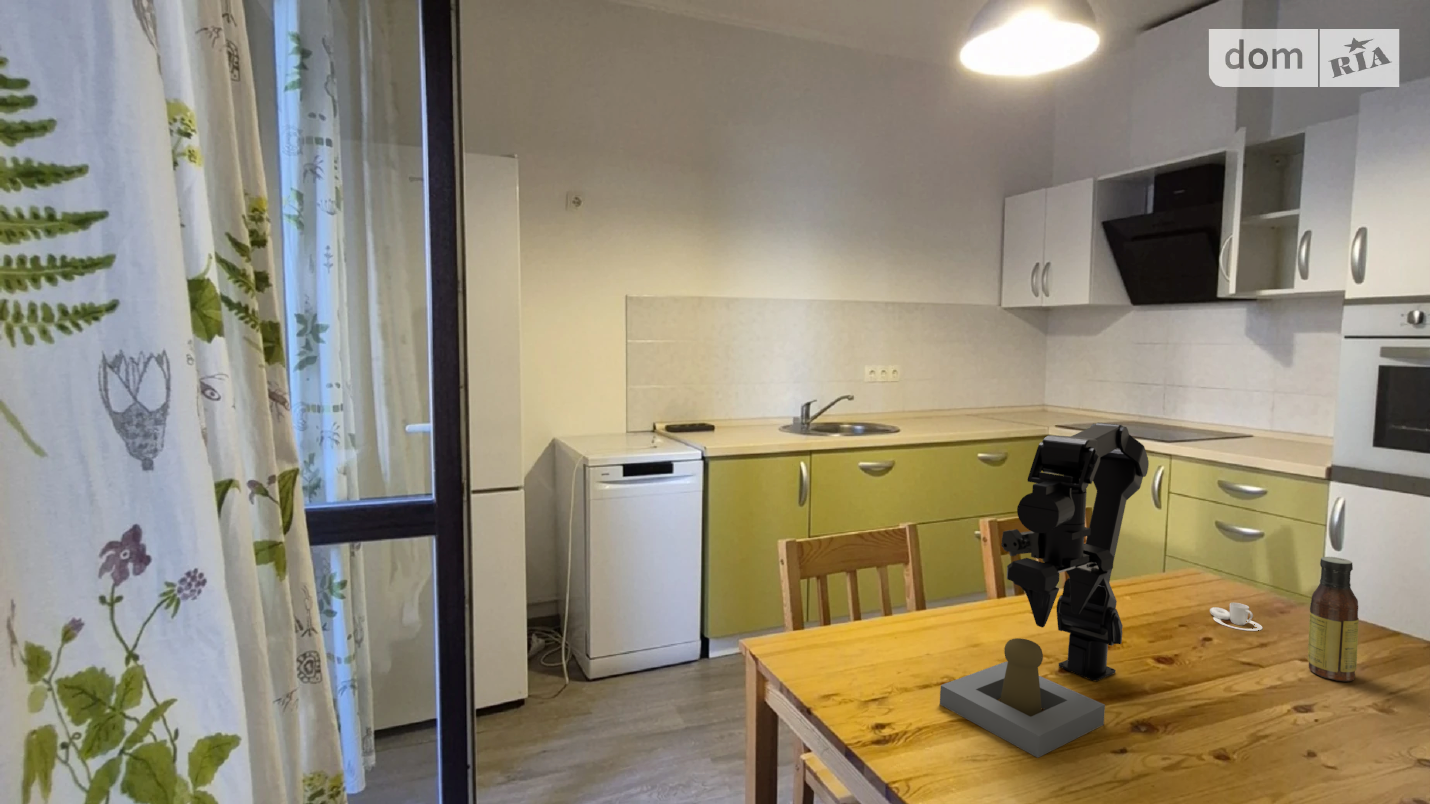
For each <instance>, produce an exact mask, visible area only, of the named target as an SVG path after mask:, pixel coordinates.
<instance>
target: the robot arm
mask: <svg viewBox="0 0 1430 804" xmlns="http://www.w3.org/2000/svg"><path fill="white" fill-rule="evenodd" d="M1149 462H1150V461H1149V457H1148V453H1147V451H1146V448H1145V445H1144V444H1143V443H1141V442H1140V441H1139V440H1137V439H1136V438H1135V437H1133V436H1132V435H1131V434H1130V432H1129V429H1128V428H1127V426H1123V425H1122V424H1117V423H1116V424H1115V423H1105V422H1104V423H1103V422H1096V423H1092V424H1091V426H1090V427H1088V428H1086V429H1084V430H1082V431H1080V432H1076V433H1075V434H1073V435H1071V436H1070V435H1069V436H1068V435H1051V434H1050V435H1047V436H1045V437H1044V438H1043V439H1042V441H1041V442H1039V444H1038V446H1037V448H1036V451H1035V455H1034V458H1033V461H1032V464H1031V467H1030V470H1029V473H1028V476H1027V482H1028V483H1033V484H1032V488H1031V489H1032V492H1031V493H1027V494H1025V495H1024V496H1023V497H1022V498H1021V499H1020V501H1019V503H1018V505H1017V506H1016V507H1017V509H1016V511H1017V513H1016V514H1017V518H1018V520H1019V522H1020V523H1021V524H1022V525H1023V527H1024V528H1026V529H1027V530H1029V531H1021V532H1020V531H1019V529H1017V528H1016V529H1008V530H1004V531H1002V536H1001V545H1000V546H1001V547H1002V548H1003V550H1004V551H1005V552H1008V553H1009V556H1010V557H1015V556H1017V555H1024V554H1030V557H1031V558H1029V557H1025V558H1020V559H1017V560H1015V561H1012V562H1010V563H1009V564H1007V566H1006V579H1007V580H1008V581H1012V582H1013V584H1014V585H1016V586H1018V587H1020V588H1021V589H1022V590H1023V591H1024V593H1025V595H1026V597H1027V600H1028V604H1029V606H1030V609H1031V612H1032V616H1033V619H1034V621H1035V625H1036V626H1037V627H1040V628H1045V626H1046V624H1047V622H1048V620H1049V617H1050V615H1051V612H1052V609H1053V607H1054V604H1055V601H1056V599H1057V597H1058V593H1059V592H1060V588H1059V587H1057V585H1058V584H1059V582H1060V574H1062V573H1063V572H1066V575H1068V577H1069V578H1067V579H1066V580H1065V581H1064V583H1063V589H1062V593H1061V595H1060V596H1059V597H1058V599H1057V603H1056V620H1057V630H1058V631H1060V632H1066V633H1069V636H1068V647H1067V659H1066V660H1062V661H1061V662H1058V667H1060V668H1061V669H1064V670H1066V671H1069V672H1071V673H1074V674H1076V675H1079V676H1081V677H1083V678H1085V679H1088V680H1091V681H1092V682H1097V681H1100V680H1102V679H1105V678H1108V677H1109V676H1112V675H1114V674H1115V673H1116V671H1117V670H1116V669H1115V668H1112V667H1110V666H1107V663H1108V651H1109V650H1108V649H1109V646H1111V647H1112V646H1114V645H1121V644H1122V641H1123V623H1122V621H1121V618H1120V615H1119V612H1118V610H1117V603H1118V601H1117V598H1116V596H1115V593H1114V591H1113V588H1112V586H1111V583H1110V580H1111V576H1112V570H1113V569H1114V562H1115V557H1116V552H1117V546H1118V542H1119V537H1120V535H1121V534H1120V533H1121V528H1122V524H1123V523H1122V522H1123V518H1124V514H1125V510H1126V505H1127V501H1128V500H1129V499H1130V498H1131V497H1132V496H1133V495H1135V494H1136V493H1137V492H1138V491H1139V490H1140V488H1141V487H1142V482H1143V480H1144V479H1143V478H1144V477H1146V476H1147V474H1148V472H1149V465H1150V464H1149ZM1092 484H1093V485H1094V487H1095V490H1096V494H1095V499H1094V503H1093V508H1092V512H1091V517H1090V522H1089V526H1088V527H1086V510H1087V509H1086V508H1087V495H1088V494H1087V488H1088V487H1089V485H1092ZM1085 537H1086V540H1085ZM1084 542H1085V543H1084ZM1032 558H1035V559H1032ZM1036 559H1037V560H1036ZM1038 559H1040V560H1042V561H1038Z"/></svg>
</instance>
